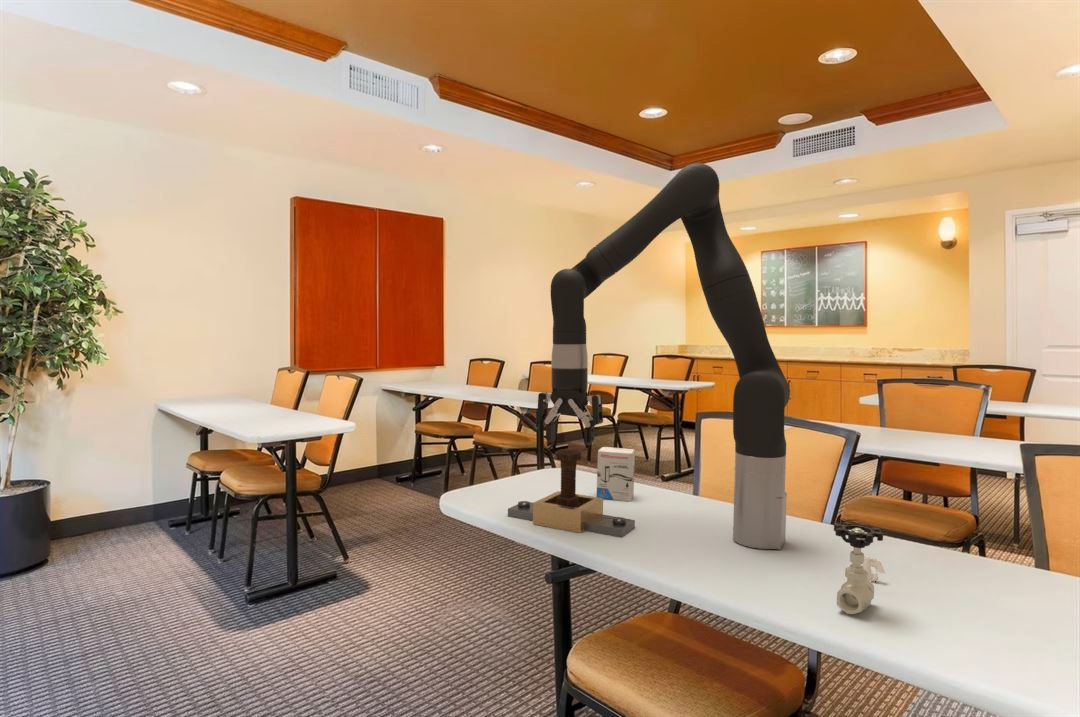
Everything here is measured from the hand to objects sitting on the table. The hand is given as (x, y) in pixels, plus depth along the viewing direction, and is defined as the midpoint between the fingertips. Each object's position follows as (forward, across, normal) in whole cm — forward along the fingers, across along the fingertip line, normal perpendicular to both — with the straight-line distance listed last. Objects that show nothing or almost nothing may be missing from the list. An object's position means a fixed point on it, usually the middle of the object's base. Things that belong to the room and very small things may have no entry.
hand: (569, 443), depth 131 cm
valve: (+18, -55, +15) cm, 59 cm away
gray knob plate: (+17, -9, 0) cm, 19 cm away
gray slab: (+17, +9, 0) cm, 19 cm away
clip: (+18, -56, +2) cm, 59 cm away
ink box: (+17, -1, -23) cm, 29 cm away
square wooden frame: (+17, 0, 0) cm, 17 cm away
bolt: (+17, +1, 0) cm, 17 cm away
